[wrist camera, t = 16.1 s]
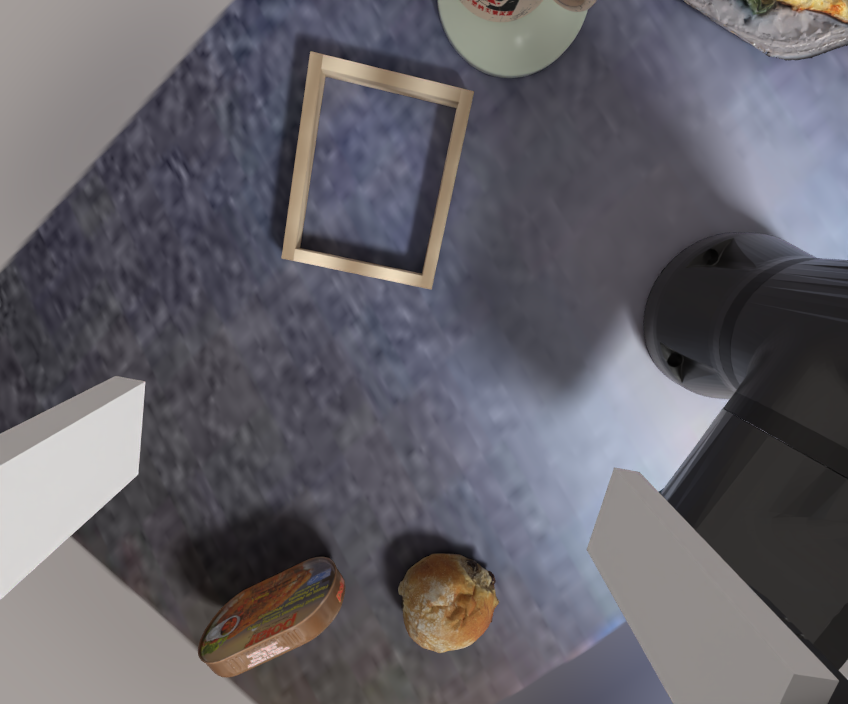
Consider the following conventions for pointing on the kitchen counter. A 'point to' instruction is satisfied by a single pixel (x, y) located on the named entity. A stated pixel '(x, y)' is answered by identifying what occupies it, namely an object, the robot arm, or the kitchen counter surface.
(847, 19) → the food plate
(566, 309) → the kitchen counter surface
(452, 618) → the bread roll
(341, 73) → the wooden frame
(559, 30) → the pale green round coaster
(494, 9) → the teacup with lid
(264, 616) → the tin
